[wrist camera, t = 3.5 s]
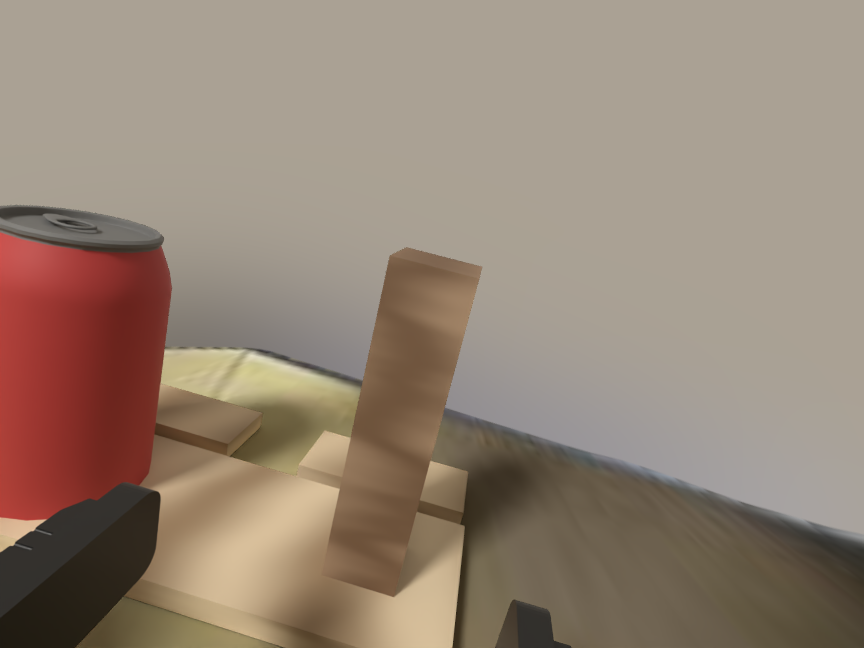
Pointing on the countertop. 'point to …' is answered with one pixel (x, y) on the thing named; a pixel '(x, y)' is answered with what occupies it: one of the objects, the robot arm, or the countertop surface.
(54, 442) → the beer can
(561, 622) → the countertop surface
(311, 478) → the broken strip
